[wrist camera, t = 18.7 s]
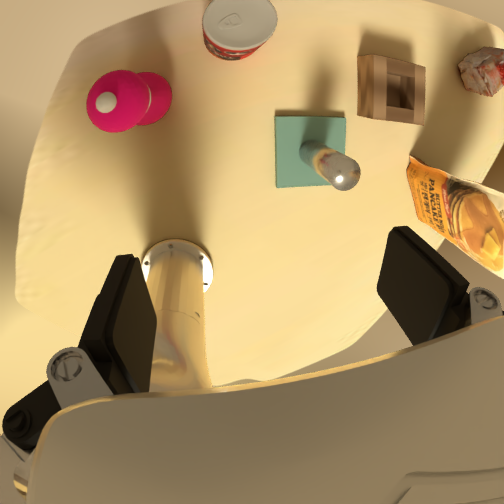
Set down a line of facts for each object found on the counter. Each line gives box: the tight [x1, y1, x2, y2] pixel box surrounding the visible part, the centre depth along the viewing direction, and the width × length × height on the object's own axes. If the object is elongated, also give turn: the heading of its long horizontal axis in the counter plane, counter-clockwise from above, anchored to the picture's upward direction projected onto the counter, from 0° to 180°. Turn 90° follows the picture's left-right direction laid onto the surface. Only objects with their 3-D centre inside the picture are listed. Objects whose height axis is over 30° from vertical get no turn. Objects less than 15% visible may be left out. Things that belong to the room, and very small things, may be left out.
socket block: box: [357, 54, 425, 126], centre depth 36 cm, size 10×10×5 cm
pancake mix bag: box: [407, 155, 504, 280], centre depth 36 cm, size 7×19×28 cm, turn 30°
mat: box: [274, 116, 346, 188], centre depth 42 cm, size 11×11×1 cm
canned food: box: [202, 0, 277, 60], centre depth 27 cm, size 8×8×11 cm
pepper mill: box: [87, 70, 172, 132], centre depth 26 cm, size 7×7×20 cm
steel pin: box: [299, 140, 360, 191], centre depth 36 cm, size 4×4×12 cm
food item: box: [458, 47, 504, 97], centre depth 31 cm, size 14×8×10 cm, turn 131°
